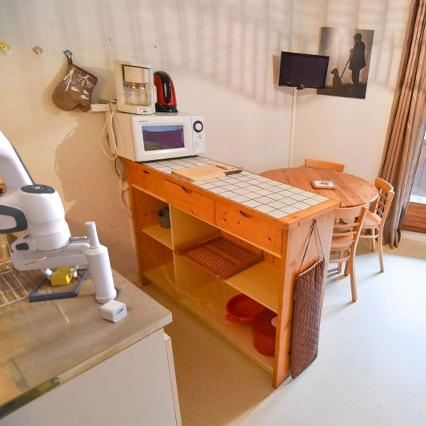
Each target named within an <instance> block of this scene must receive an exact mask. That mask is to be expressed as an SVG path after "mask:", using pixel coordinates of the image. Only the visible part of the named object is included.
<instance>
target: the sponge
mask: <svg viewBox="0 0 426 426" xmlns="http://www.w3.org/2000/svg"><path fill="white" fill-rule="evenodd" d="M73 269H74V268H73ZM73 269H71V266H69V267H58V268H57V269H56V270H55V271H56V272H55V273H54V274H53V276H52V277H51V278H50V280H49V281H50V283H51V286H52V287H55V286H65V285H69V283H70V282H71V280H72V279H73V278H70V277H69V272H70V271H72V270H73Z"/></svg>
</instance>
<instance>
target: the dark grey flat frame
mask: <svg viewBox="0 0 426 426" xmlns="http://www.w3.org/2000/svg"><path fill="white" fill-rule="evenodd" d="M51 271H52V272H56V270H51ZM76 272H83V274H82V276H81V277H80V279H79V280H78V282H77V284H76V286H75V287H74V289H73V290H70V291H62V292H52V293H44V294H36V293H37V291H38V290H39V289H40V288H41V286H42V285H43V284H44V282H45V281H46V280H47V278H48V276H47V275H45V274H44V276H43V277H42V279H41V280H40V281H39V282H38V284H37V285H36V286H35V287H34V289H33V290H32V292H31V293H30V294H29V295H28V296H27V299H28V301H29V303H30V304H31V303H41V302H49V301H57V300H64V299H67V300H68V299H74V298H75V299H76V298H77V297H78V295H79V293H77V292H78V290H79V288H80V286H81V285H82V283H83V281H84V280H85V278H86V276H87V274H88V272H90V270H89V267H84V268H77V270H76Z"/></svg>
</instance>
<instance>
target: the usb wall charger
mask: <svg viewBox="0 0 426 426" xmlns="http://www.w3.org/2000/svg"><path fill="white" fill-rule="evenodd" d="M96 308H97V311H100V314H101V317H102V318H103V319H105V320H108V321H110V322H113V323H118V322H119V321H121V320H122V319H124V318H125V317H126V316H127V315H128V310H127V306H126V304H125V303H124V302H120V301H117V300H115V299H114V300H111V301H109V302H108V303H103V304H102V305H101V306H100V307H96Z"/></svg>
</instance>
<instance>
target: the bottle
mask: <svg viewBox="0 0 426 426" xmlns="http://www.w3.org/2000/svg"><path fill="white" fill-rule="evenodd" d="M84 224H85V229H86V232H87V236H88V237H89V241H90V246H89V248H88V249H87V250H86V251H85V255H86V259H87V263H88V265H87V266H88V268H89V274H90V278H91V280H92V285H93V288H94V291H95V300H96V301H97V303H99V304H102V305H104V303H108V302H109V301H111V300H114V301H115V300H116V298H117V290H116V289H115V284H114V279H113V272H112V268H111V262H110V257H109V251H108V247H107V246H104V245H102V244H101V243H100V242H99V237H98V233H97V227H96V222H95V221H87V222H85V223H84Z"/></svg>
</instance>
